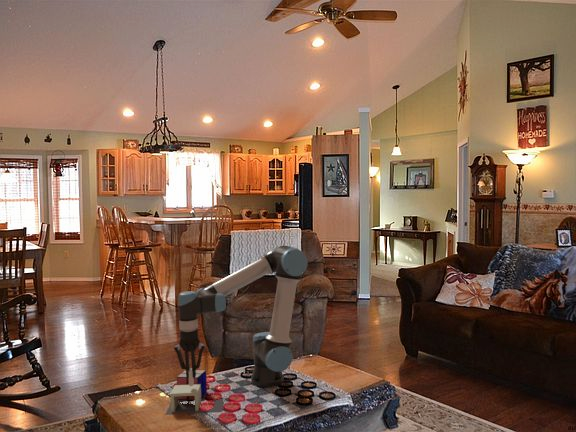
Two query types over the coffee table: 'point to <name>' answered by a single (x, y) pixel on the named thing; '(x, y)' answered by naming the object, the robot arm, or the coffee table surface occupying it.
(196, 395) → the stool
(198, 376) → the puzzle cube
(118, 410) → the coffee table surface
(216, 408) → the mat
